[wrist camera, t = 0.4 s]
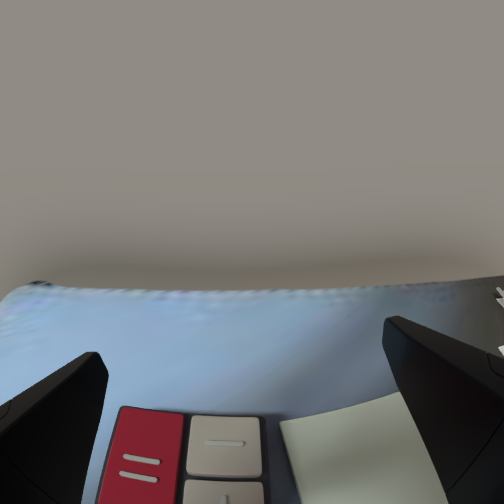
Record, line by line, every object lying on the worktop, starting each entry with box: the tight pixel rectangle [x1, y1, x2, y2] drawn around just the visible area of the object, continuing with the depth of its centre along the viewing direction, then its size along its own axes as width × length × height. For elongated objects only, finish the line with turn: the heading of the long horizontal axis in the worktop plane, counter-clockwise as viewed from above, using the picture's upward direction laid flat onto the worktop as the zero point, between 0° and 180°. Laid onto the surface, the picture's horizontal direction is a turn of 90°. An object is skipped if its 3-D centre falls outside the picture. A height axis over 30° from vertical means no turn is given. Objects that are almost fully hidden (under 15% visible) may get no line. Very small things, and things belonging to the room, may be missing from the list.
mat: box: [279, 391, 448, 504], centre depth 15 cm, size 18×18×1 cm
